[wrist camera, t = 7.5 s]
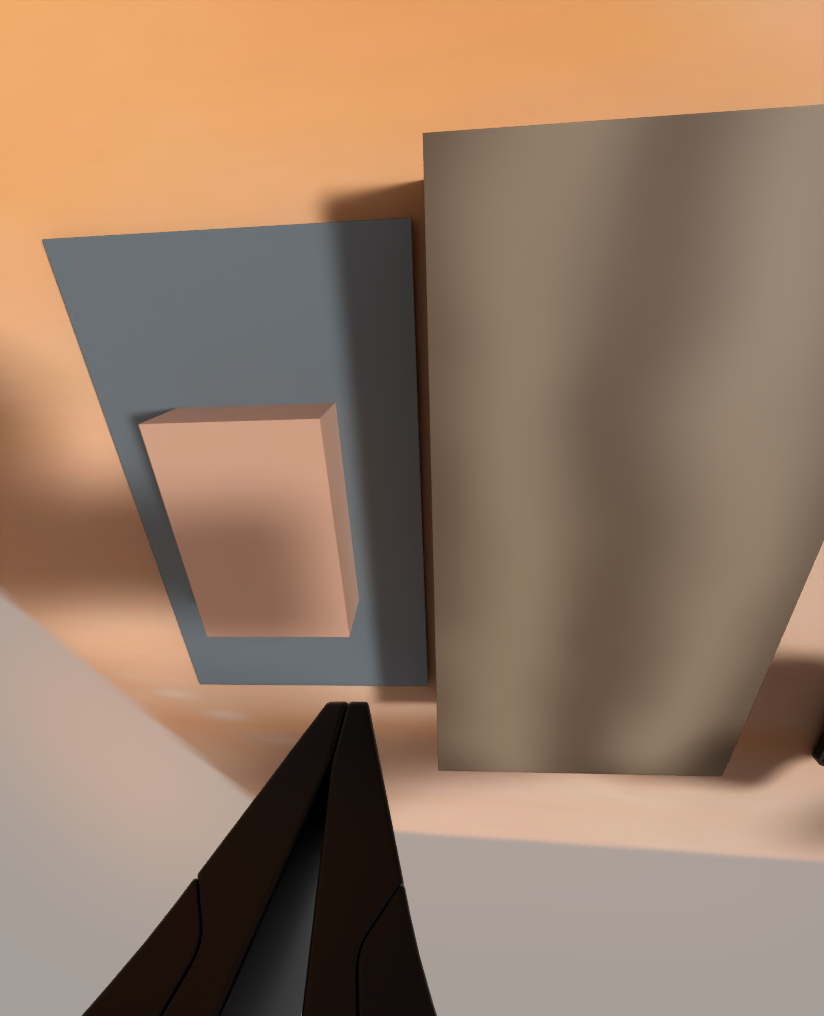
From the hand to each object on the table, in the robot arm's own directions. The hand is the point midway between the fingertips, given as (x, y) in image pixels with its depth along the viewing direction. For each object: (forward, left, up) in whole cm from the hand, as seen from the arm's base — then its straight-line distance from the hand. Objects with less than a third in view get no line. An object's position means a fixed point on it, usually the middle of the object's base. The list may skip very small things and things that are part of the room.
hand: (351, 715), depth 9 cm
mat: (+5, 0, -10) cm, 11 cm away
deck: (-8, 0, -10) cm, 13 cm away
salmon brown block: (+5, 0, -7) cm, 9 cm away
